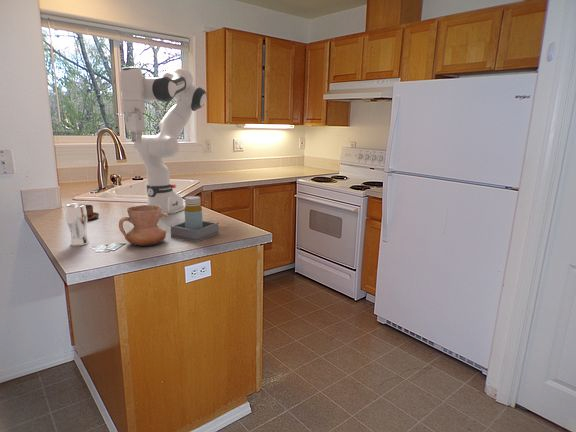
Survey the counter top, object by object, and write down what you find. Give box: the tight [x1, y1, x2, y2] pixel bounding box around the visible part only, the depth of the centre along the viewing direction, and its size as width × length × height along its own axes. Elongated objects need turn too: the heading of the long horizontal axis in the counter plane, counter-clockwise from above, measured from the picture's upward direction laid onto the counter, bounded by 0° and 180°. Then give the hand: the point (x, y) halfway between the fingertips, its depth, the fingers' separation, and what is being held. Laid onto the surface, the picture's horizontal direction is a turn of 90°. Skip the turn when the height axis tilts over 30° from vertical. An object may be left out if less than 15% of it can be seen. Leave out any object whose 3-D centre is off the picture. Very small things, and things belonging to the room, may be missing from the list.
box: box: [170, 220, 219, 243], centre depth 160 cm, size 14×14×4 cm
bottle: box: [183, 195, 203, 230], centre depth 159 cm, size 7×7×15 cm
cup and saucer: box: [85, 204, 100, 221], centre depth 183 cm, size 12×12×6 cm
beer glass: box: [65, 203, 90, 247], centre depth 146 cm, size 7×7×15 cm
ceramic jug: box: [118, 204, 169, 247], centre depth 148 cm, size 18×14×14 cm
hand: (136, 142), depth 160 cm, fingers open, 8 cm apart
